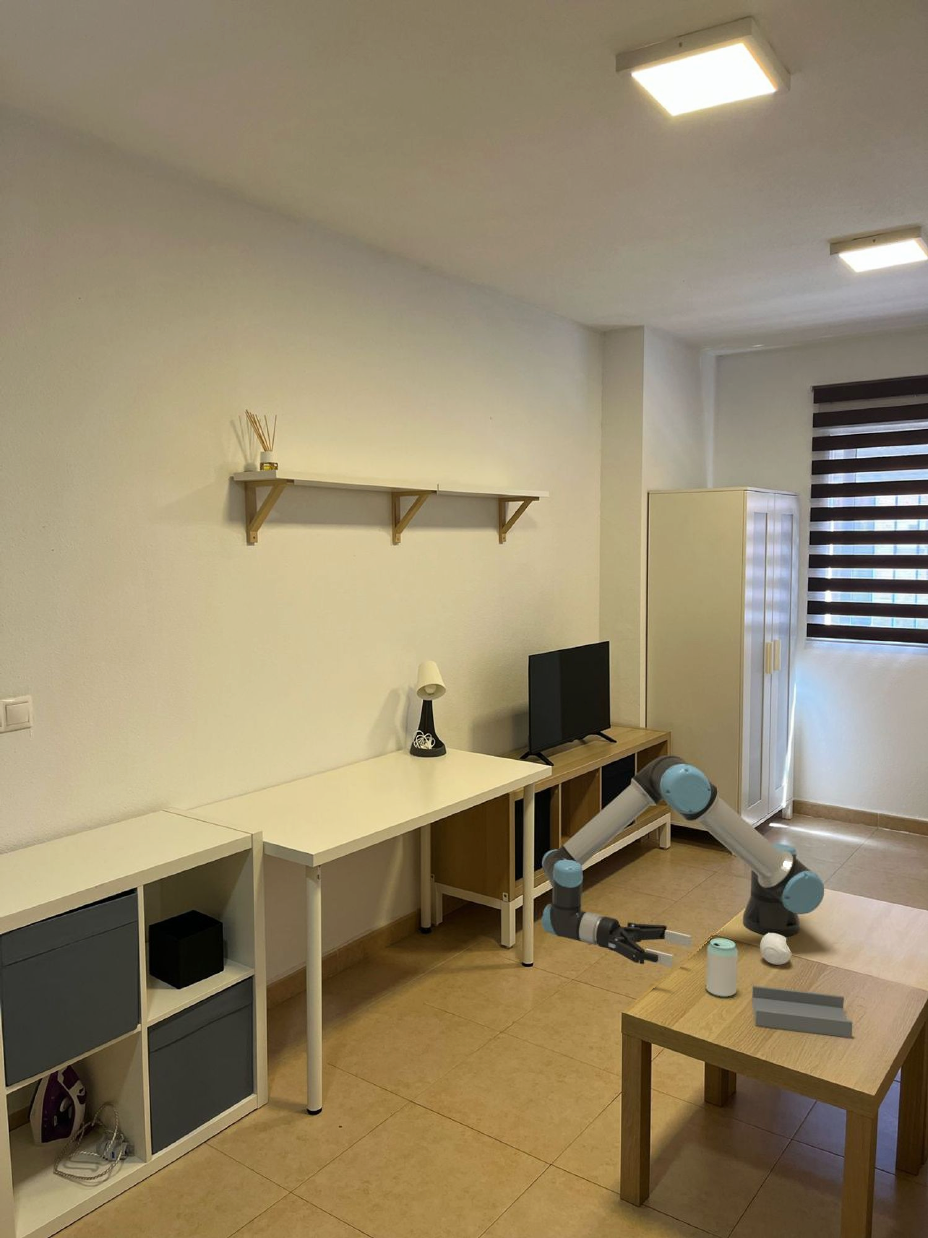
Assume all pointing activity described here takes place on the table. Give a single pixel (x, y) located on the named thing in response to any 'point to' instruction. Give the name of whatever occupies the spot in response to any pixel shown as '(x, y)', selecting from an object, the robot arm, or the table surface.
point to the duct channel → (800, 1011)
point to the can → (721, 967)
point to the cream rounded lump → (775, 949)
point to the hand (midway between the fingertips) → (681, 951)
